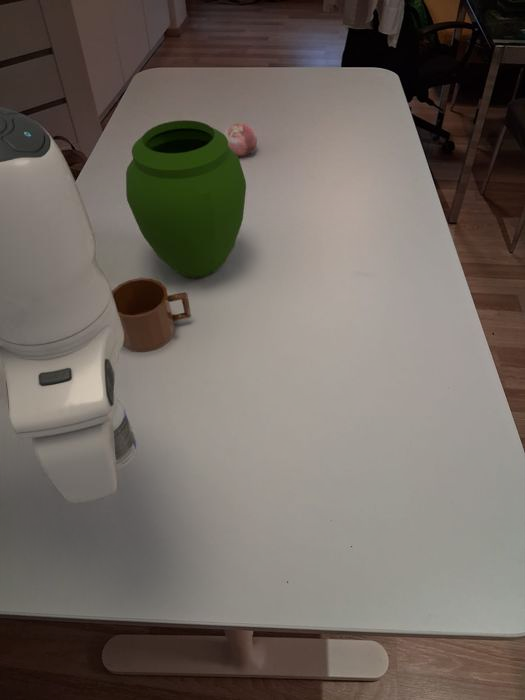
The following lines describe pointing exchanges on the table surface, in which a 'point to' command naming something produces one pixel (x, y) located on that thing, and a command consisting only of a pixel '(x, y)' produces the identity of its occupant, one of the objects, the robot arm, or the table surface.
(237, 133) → the onion
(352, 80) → the table surface
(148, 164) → the vase
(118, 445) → the pill bottle
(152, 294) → the mug
